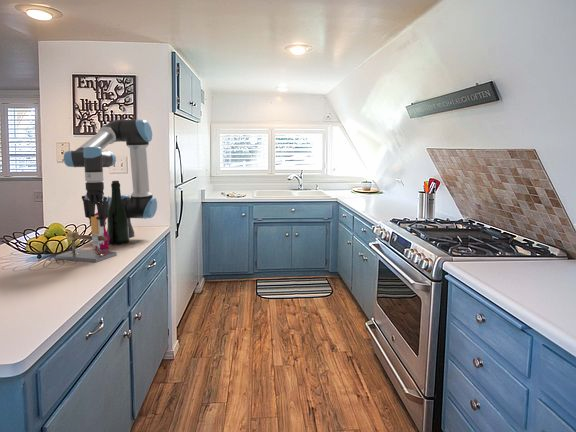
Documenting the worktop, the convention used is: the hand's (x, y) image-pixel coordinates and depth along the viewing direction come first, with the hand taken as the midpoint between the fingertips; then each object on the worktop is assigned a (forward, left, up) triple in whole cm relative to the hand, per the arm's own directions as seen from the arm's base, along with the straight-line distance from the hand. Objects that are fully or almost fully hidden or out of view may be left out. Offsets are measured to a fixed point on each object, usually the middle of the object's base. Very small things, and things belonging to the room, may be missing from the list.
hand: (97, 233), depth 209 cm
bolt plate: (0, -7, -12) cm, 13 cm away
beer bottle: (-30, -12, -12) cm, 34 cm away
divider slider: (0, 0, -9) cm, 9 cm away
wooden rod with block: (0, -6, -10) cm, 12 cm away
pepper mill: (-17, -12, -12) cm, 24 cm away
